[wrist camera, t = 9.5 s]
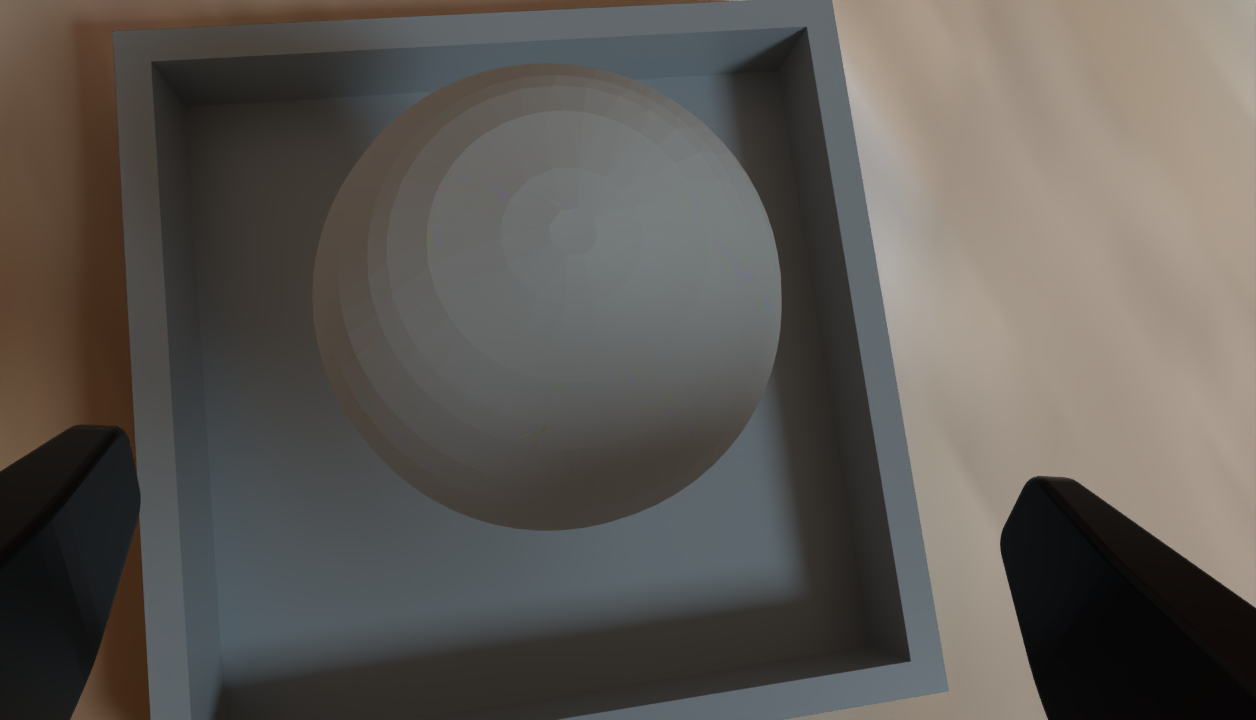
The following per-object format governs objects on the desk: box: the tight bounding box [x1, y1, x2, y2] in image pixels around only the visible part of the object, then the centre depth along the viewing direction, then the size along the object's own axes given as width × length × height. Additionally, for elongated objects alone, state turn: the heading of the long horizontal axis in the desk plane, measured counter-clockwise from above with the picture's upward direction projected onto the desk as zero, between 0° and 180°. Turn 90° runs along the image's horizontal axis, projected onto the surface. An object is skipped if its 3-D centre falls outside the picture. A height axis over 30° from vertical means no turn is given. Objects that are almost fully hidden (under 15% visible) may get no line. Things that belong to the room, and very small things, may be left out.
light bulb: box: [312, 63, 782, 531], centre depth 14 cm, size 6×6×10 cm
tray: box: [112, 0, 949, 720], centre depth 18 cm, size 13×13×2 cm
